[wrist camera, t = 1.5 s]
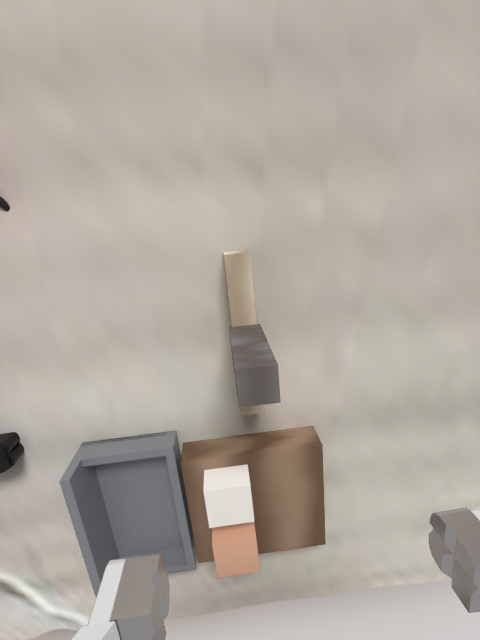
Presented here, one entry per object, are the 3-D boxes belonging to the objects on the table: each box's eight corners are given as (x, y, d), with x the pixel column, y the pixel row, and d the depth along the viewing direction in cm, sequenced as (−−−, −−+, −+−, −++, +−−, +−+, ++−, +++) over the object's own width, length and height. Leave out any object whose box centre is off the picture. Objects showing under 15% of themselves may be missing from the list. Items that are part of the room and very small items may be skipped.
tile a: (247, 464, 31) (250, 484, 28) (251, 499, 32) (254, 521, 30) (204, 470, 31) (203, 491, 28) (209, 504, 32) (209, 528, 29)
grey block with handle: (249, 248, 28) (270, 265, 18) (262, 395, 32) (286, 479, 22) (220, 252, 28) (223, 271, 18) (237, 398, 32) (248, 485, 22)
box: (176, 430, 33) (169, 466, 28) (197, 547, 37) (194, 595, 32) (82, 442, 32) (59, 481, 27) (114, 559, 37) (99, 610, 32)
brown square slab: (313, 425, 34) (322, 445, 31) (316, 519, 37) (325, 544, 34) (183, 443, 33) (180, 464, 30) (199, 535, 37) (198, 562, 34)
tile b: (253, 515, 32) (256, 538, 30) (256, 546, 34) (260, 571, 31) (212, 521, 32) (212, 545, 30) (217, 552, 33) (217, 578, 31)
